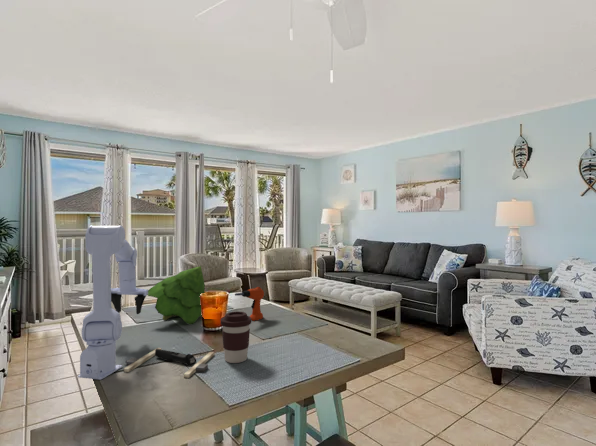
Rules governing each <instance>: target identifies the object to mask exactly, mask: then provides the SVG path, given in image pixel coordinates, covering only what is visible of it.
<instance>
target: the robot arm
mask: <svg viewBox="0 0 596 446" xmlns="http://www.w3.org/2000/svg"><path fill="white" fill-rule="evenodd" d="M84 236H85V240H84V241H85V250H86V251H85V252H86V253H88V254H89V255H91V262H92V263H91V265H92V299H93V301H92V302H93V307H92V308H93V309H92V310H91V311H90V312H89V313H88V314H86V315H85V316H84V318H83V319H82V327H81V338H82V340H83V341H84V342H85V343H86V345H87V346H86V348H85V349H84V350H82V352H80V355H79V374H78V375H77V378H80V379H81V378H82V379H89V380H91V379H92V380H99V381H100V380H103V379H105V378H107V377H108V376H110V375H111V374H113V373H114V372H116V371H118V370H120V369H122V368H123V365H122V364H116V363H117V351H116V349H117V344H116V343H117V341H118V340H119V339H120V338H121V336H122V332H123V324H122V319H121V318H122V316H121V312H122V296H123V295H126V296H127V295H128V296H129V295H130V296H135V297H134V301H135V307H136V308H135V311H136V313H135V314H136V315H140V313H142V307H143V304H144V301H145V300H146V297H147V296H148V290H149V289H146V288H139V287H137V277H136V276H137V275H136V274H137V273H136V272H137V271H136V266H137V259H138V249H137V248H136V247H135V246H131V244H130V243H129V242H128V240H127V239H126V230H125V228H124V226H123V225H94V224H93V225H89V226H88V227H87V228H86V232H85V235H84ZM112 255H114V256H115V262H116V263H117V264H118V265H117V266H118V282H119V283H118V286H119V287H115V288H114V287H112V282H111V281H112V276H111V275H112V274H111V273H112V271H111V257H112ZM112 304H113V305H112ZM112 306H114V308H112Z"/></svg>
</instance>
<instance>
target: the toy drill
mask: <svg viewBox="0 0 596 446" xmlns="http://www.w3.org/2000/svg"><path fill="white" fill-rule="evenodd" d="M234 295H235V296H242V297H244V298H247V299H249V300H250V299H251V300H252V304H251V306H250V307H251V308H252V311H251V314H250V316H249V315H248V316H249V317H251V320H252V321H251V322H255V320H256V321H260V320H262V319H263V318H264V315H263V312H261V300H262V299H263V298H264V296H265V291H264V290H263V289H262V288H261V286H257V287H253V288H250V289H247V290H244V291H241V292H240V293H239V292H238V293H237V292H236V293H234ZM259 319H260V320H259Z"/></svg>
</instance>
